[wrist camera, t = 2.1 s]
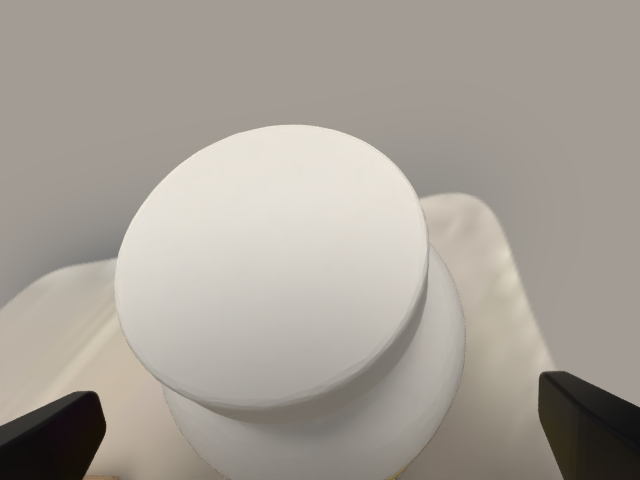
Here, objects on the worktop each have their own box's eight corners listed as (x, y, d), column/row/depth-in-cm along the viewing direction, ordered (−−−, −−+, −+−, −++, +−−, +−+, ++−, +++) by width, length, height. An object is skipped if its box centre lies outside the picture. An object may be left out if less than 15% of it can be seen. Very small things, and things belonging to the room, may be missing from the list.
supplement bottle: (233, 407, 17) (-31, 269, 7) (337, 292, 19) (266, 38, 9) (357, 542, 15) (251, 695, 4) (465, 390, 16) (605, 194, 6)
